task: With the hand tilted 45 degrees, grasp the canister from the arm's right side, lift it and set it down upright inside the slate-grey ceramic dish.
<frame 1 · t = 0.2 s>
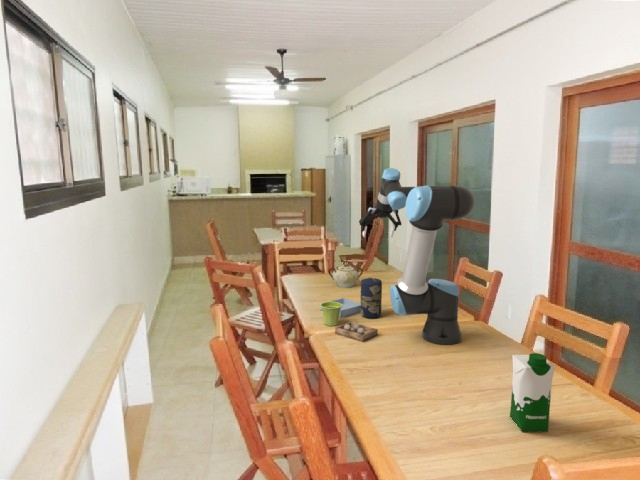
hand: (377, 235, 221), 35 cm above the table, tool tilted 35°, fingers open, 13 cm apart
slate dish: (342, 310, 217), on the table
sugar bowl: (345, 286, 262), on the table
plant pot: (331, 324, 199), on the table
pebble tray: (356, 334, 187), on the table
canister: (370, 316, 210), on the table
milk carton: (528, 424, 122), on the table
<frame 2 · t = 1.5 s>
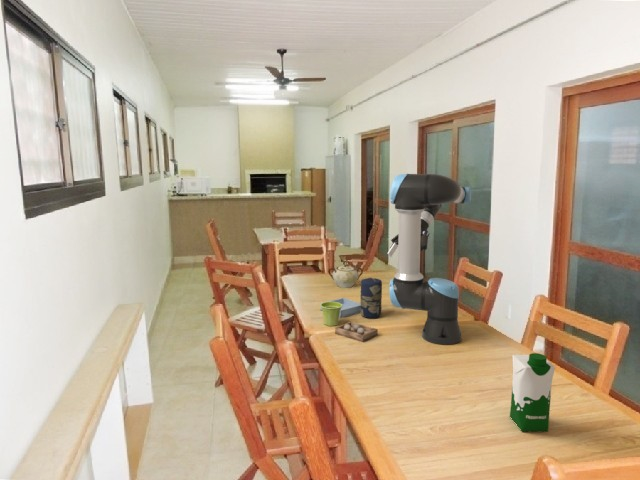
hand: (399, 257, 212), 26 cm above the table, tool tilted 45°, fingers open, 13 cm apart
nothing on the table moved.
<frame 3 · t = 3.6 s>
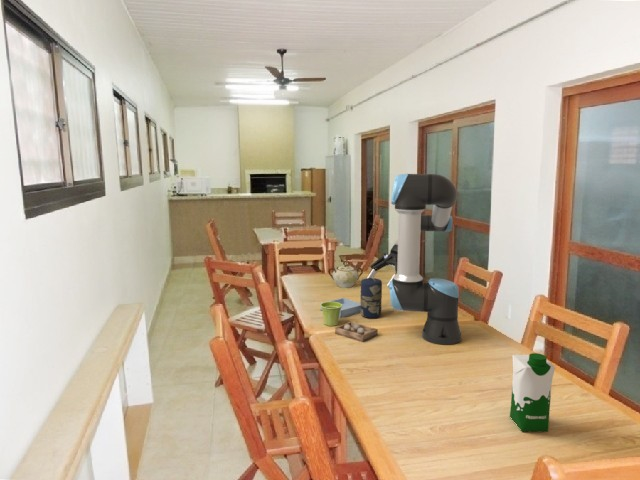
hand: (378, 284, 212), 14 cm above the table, tool tilted 45°, fingers open, 13 cm apart
nothing on the table moved.
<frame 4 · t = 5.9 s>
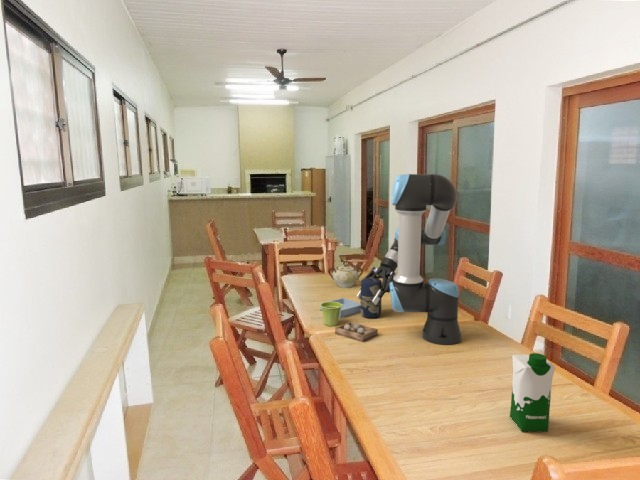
hand: (366, 300, 207), 8 cm above the table, tool tilted 45°, fingers closed on canister, 9 cm apart
canister: (370, 316, 210), on the table, touching gripper
everything else where it was.
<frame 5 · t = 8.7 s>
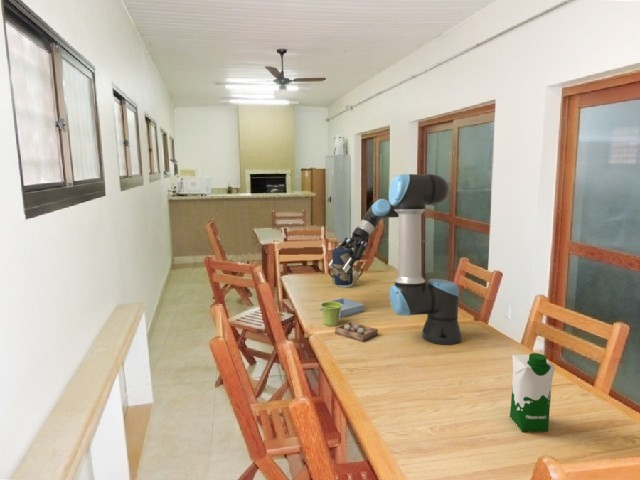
hand: (337, 268, 212), 21 cm above the table, tool tilted 45°, fingers closed on canister, 9 cm apart
canister: (342, 284, 215), point 13 cm above the table, touching gripper
everything else where it was.
when the fingers open (10 cm above the table, at t = 11.6 s): canister drops 1 cm, resting on slate dish.
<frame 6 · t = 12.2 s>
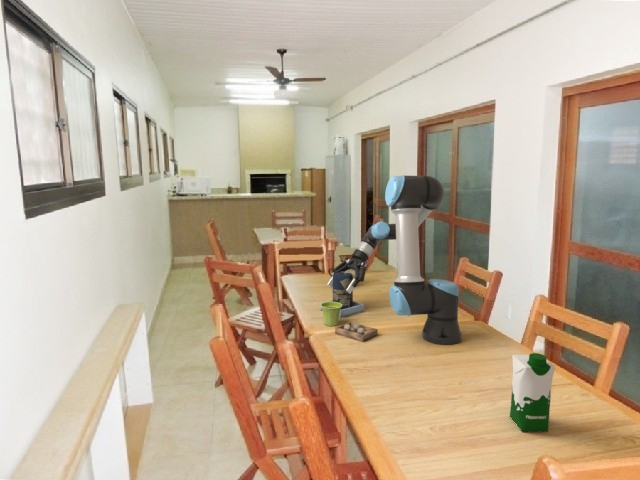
hand: (338, 288, 214), 11 cm above the table, tool tilted 45°, fingers open, 13 cm apart
canister: (342, 309, 217), point 1 cm above the table, touching slate dish
everything else where it was.
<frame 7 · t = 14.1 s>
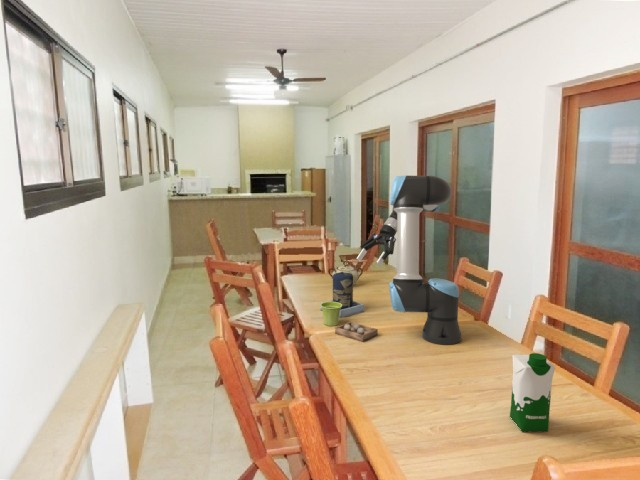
hand: (368, 262, 220), 22 cm above the table, tool tilted 45°, fingers open, 13 cm apart
nothing on the table moved.
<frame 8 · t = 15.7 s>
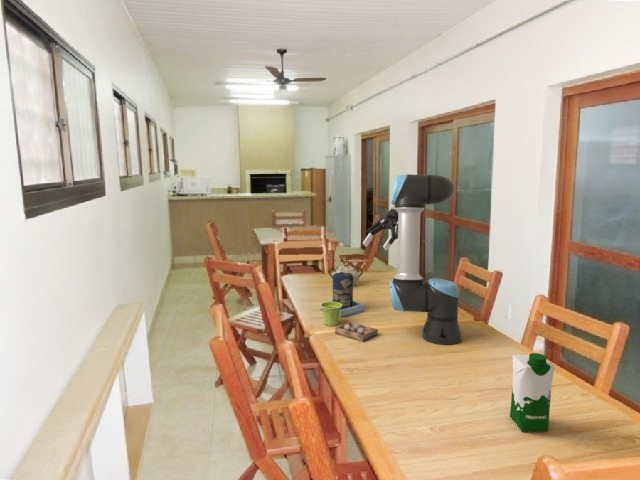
hand: (374, 246, 219), 30 cm above the table, tool tilted 45°, fingers open, 13 cm apart
nothing on the table moved.
at the end: canister inside the target area on the slate dish (0.3 cm from its centre), point 0.8 cm above the slate dish's base; canister tilted 0°; the gripper is holding nothing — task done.
